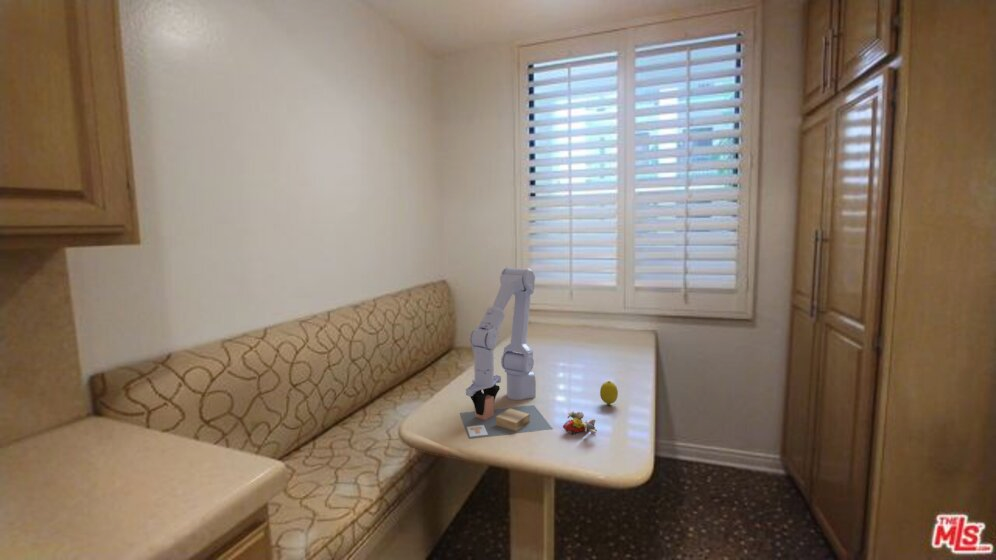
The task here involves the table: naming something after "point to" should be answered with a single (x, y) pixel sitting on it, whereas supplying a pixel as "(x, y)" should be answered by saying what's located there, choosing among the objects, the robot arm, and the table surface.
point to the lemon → (608, 392)
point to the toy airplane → (579, 424)
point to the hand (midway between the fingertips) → (484, 411)
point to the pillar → (487, 408)
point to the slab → (513, 419)
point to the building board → (489, 428)
